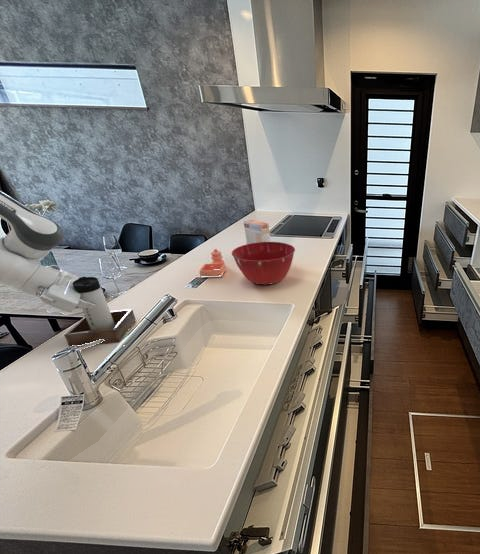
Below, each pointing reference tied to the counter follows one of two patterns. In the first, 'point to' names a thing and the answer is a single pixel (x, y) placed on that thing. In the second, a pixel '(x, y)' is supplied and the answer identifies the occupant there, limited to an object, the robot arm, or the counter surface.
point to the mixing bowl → (264, 261)
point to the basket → (84, 334)
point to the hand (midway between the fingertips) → (95, 302)
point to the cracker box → (256, 231)
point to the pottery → (213, 265)
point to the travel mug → (93, 293)
